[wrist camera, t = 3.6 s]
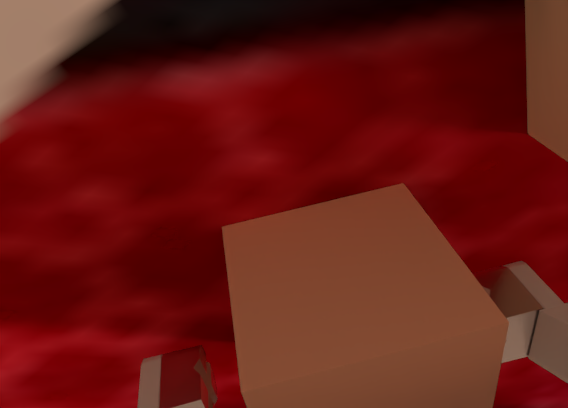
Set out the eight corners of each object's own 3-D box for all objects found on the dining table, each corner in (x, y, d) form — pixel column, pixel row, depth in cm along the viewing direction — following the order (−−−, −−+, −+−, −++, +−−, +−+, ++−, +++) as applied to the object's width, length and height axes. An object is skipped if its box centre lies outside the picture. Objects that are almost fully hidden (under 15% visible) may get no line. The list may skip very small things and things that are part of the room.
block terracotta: (402, 181, 12) (509, 322, 8) (403, 305, 15) (483, 454, 11) (221, 224, 12) (240, 392, 8) (257, 342, 15) (285, 510, 11)
